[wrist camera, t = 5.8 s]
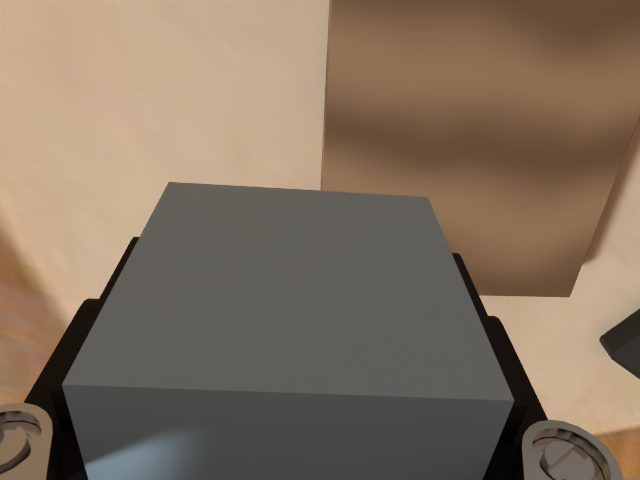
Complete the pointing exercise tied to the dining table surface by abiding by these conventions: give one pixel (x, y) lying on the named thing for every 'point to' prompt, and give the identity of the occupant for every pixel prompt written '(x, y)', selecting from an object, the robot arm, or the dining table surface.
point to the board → (487, 123)
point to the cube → (288, 345)
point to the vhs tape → (625, 343)
